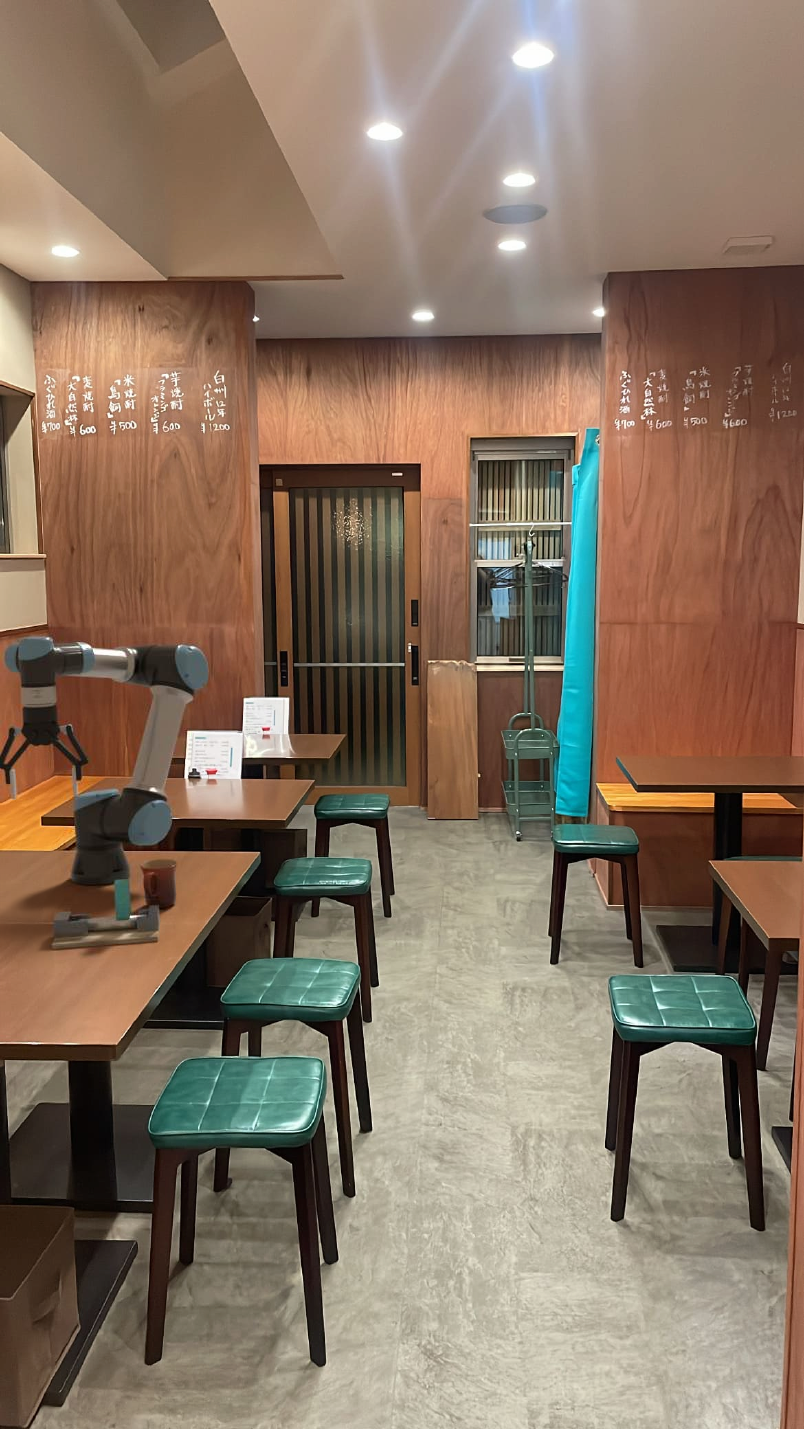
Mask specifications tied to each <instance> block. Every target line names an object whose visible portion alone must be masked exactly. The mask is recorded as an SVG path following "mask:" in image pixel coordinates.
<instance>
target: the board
mask: <svg viewBox="0 0 804 1429" xmlns="http://www.w3.org/2000/svg"><path fill="white" fill-rule="evenodd" d="M159 921H160V923H159V930H158V931H150V932H137V928H129V929H116V930H102V931H89V932H88V934H89V935H88V936H79V937H66V938H55V937H54V939H53V941H52V944H51V948H52V950H59V949H73V948H83V947H85V948H86V947H97V946H111V945H123V944H126V945H127V944H139V943H151V942H153V943H154V942H159V936H160V927H161V916H159Z"/></svg>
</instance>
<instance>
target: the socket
mask: <svg viewBox="0 0 804 1429" xmlns="http://www.w3.org/2000/svg"><path fill="white" fill-rule="evenodd" d="M146 914H148V916H140V917H137V932H150V931H158V930H159V931H160V929H159V923H160V924H161V920H160V921H159V917H160V909H159V905H151V906H148V908H147V909H146V908H145V909H138V911H137V915H146Z"/></svg>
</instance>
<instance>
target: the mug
mask: <svg viewBox="0 0 804 1429" xmlns="http://www.w3.org/2000/svg"><path fill="white" fill-rule="evenodd" d="M178 863H179V862H178V861H177V860H175V859H169V858H159V859H158V858H157V859H151V860H146V861H143V862H141V864H140V870H141V872H142V875H143V881H142V882H143V892H144V896H143V897H144V900H145V905H146V906H147V907H149V906H151V905H159V910H160V909H166V908H170V907H172V906H173V905H175V903H176V900H177V888H176V887H177V886H176V885H177V883H176V871H177V868H178Z"/></svg>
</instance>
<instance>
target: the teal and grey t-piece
mask: <svg viewBox="0 0 804 1429" xmlns="http://www.w3.org/2000/svg"><path fill="white" fill-rule="evenodd" d="M113 885H114V886H113V887H114V889H113V890H114V904H115V905H114V906H115V907H114V908H115V916H108V917H107V916H106V917H105V916H104V917H93V918H92V917H90V919H79V921H84V920H88V932H89V931H102V930H116V929H129V928H137V917H140V916H148V914H146V915H138V914H133V915H132V911H131V910H132V907H131V890H130V887H131V886H130V879H129V878H126V879H122V880H115V882H114V883H113Z"/></svg>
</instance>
